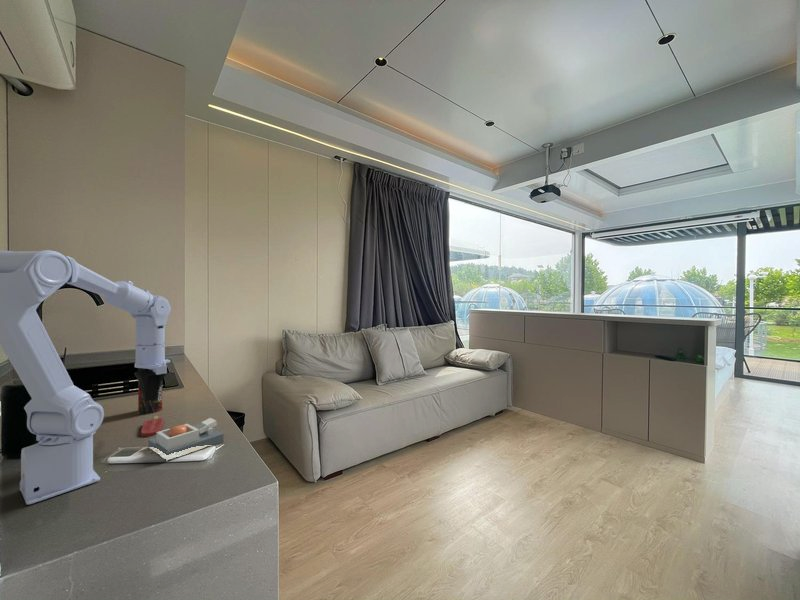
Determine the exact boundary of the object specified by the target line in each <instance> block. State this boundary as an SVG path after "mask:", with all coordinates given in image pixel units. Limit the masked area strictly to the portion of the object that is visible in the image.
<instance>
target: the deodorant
mask: <svg viewBox="0 0 800 600" xmlns="http://www.w3.org/2000/svg"><path fill="white" fill-rule="evenodd" d="M137 369H138V370H137V372H138V371H141V370H142V368H137ZM137 383H138V384H137V388H138V391H137V392H138V405H137V406H138V407H137V408H138V409H137V410H138V412H139V413H141V414H140V415H148V414H149V413H150V414H155V413H158V412H161V411H162V410H163V381H162V382H161V385H160V388H159V392H158V395H157V398H156V399H154V400H149V401H146V400H144V397H143V393H142V389H141V386H140V383H139V381H138V380H137ZM160 410H161V411H160ZM138 412H137V413H138ZM154 412H155V413H154ZM139 413H138V414H139Z"/></svg>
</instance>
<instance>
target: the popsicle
mask: <svg viewBox="0 0 800 600" xmlns="http://www.w3.org/2000/svg"><path fill="white" fill-rule="evenodd" d="M164 424H165V418H164V417H161V418H160V417H159V415H154V416H153V418H152V419H147V420H144V421H143V424H142V427H141V430H140V437H143V438H150V437H154V436H157V432H159V431H163V430H162V429H163V427H164Z"/></svg>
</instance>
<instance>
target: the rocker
mask: <svg viewBox="0 0 800 600" xmlns="http://www.w3.org/2000/svg"><path fill="white" fill-rule="evenodd" d="M217 421H218V420H216V419H214V418H212V417H209V418H207V419H204V420H203V421H201V422H199V423H197V424H194V425H193V426H194V427H195V428H197V429H198V430H199V433H200V434H201V433H203V432H205V431H207V430H208V429H209V428H213V429H214V427H216V426H218V422H217Z"/></svg>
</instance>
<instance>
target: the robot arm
mask: <svg viewBox="0 0 800 600" xmlns="http://www.w3.org/2000/svg"><path fill="white" fill-rule="evenodd" d="M65 284H67V285H70V286H74V287H76V288H80V289H82V290H86V291H88V292H91V293H94V294H96V295H100V296H102V297H103V300H104V302H105V303H106V304H107V305H109V306H112V307H114V308H118V309H120V310H122V311H125V312H128V313H129V315H130V317H132V318H133V319H135V360H134V361H135V362H134V368H137V369H138V368H142V370H141V371H138V370H137V371H134V372H133V374H134V376H135V377H136V379H137V382H138V381H139V383H140V386H141V389H142V393H143V397H144V400H146V401H149V400H154V399H156V398H157V395H158V392H159V388H160V385H161V382H162V383H163V379H164V378H165V377H166V375H167V373H168V370H167V367H168V365H167V364H170V363H171V360H170V359H167V358H165V357H166V355H165V354H166V352H165V350H166V341H165V340H166V338H165V337H166V336H165V333H166V329H165V327H166V325H167V323H168V317H169V315H170V313H171V310H172V306H171V305H170V301H169V300H168V299H167V298H166V297H164V296H163V295H153V294H152V293H150V292H151V291H149V290H147V289H141V288H140V287H137V286H135V285H134V282H133V281H131V280H117V281H112V280H110V279H108V278H107V277H105V276H104V275H100V274H99V273H97V272H95V271H93V270H91V269H90V268H87V267H85V266H84V265H82V264H79V263H78V262H77V261H76V260H75V258H73V257H71V256H67V255H64V254H62V253H61V252H58V251H55V250H50V249H47V250H45V249H44V250H38V251H37V250H35V251H34V250H33V251H31V250H29V251H28V250H26V251H21V250H19V251H14V250H0V346H1V349H2V350H3V352H4V353H5V355H6V357H7V359H8V360H9V362H10V364H11V366H12V367H13V369H14V370H15V371H14V372H16V374H17V375H18V377H19V379H20V382H22V384H23V386H24V387H25V389H26V391H27V393H28V394H29V396H30V398H31V399H30V400H29V401H28V402H27V403H26V404H25V406H23V409H24V410H25V412H26V428H27V430H28V431H29V432H30V433H31V434H33V435H36V437H35V438H36V439H35V440H36V442H37V443H35V444H32V445H29V446H26V447H23V448H21V453H20V481H19V491H20V492H21V495H22V496H23V499H24V502H25V504H26V506H27V505H32V504H35V503H37V502H41V501H44V500H47V499H50V498H53V497H56V496H58V495H62V494H64V493H67V492H70V491H74V490H77V489H79V488H82V487H86V486H87V485H91V484H94V483H97V482H99V481H101V477H100V475H98V473H97V472H96V471H95V469H94V434H95V435H96V434H97V433H96V432H97V430H98V429H99V428H100V426H101V424H102V423H103V421H104V418H105V411H104V408H103V406H102V405H101V404H100V403H98V402H96V401H95V400H94V399H93V397H92V396H91V394H89V393H88V392H86V391H85V390H83V389H81V388H79V387H78V386H76V385H74V382H73V380H72V379H71V376H70V375H69V372H68V371H67V369H66V367H65V365H64V363H63V361H62V359H61V357H60V355H59V353H58V352H57V350H56V347H55V345H54V344H53V342H52V340H51V338H50V335H49V333H48V332H47V330H46V327H45V326H44V324H43V322H42V320H41V318H40V316H39V314H38V312H37V309H38V308H39V306H40V305H41V303H42V302H43V301H45V300H46V299H47V298H49V297H50V296H51V295H53V294H54V293H55V292H56V291H58V290H59V289H60V288H61V287H63V286H64V285H65Z"/></svg>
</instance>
